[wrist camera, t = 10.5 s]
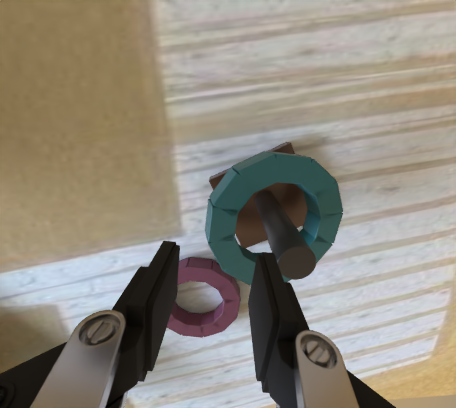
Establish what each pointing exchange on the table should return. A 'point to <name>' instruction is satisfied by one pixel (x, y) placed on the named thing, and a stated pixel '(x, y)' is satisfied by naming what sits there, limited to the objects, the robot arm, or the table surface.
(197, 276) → the plum ring
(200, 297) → the table surface
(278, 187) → the peg stand
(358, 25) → the table surface
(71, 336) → the robot arm
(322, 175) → the teal ring
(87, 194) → the table surface
